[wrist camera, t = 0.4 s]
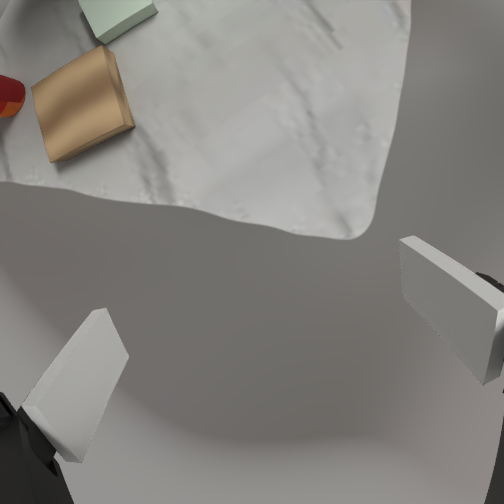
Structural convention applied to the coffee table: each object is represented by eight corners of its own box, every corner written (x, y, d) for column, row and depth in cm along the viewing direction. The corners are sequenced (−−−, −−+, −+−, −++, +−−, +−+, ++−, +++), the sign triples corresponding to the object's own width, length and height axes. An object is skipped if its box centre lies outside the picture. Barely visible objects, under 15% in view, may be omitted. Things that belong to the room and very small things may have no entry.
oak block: (46, 90, 33) (31, 87, 30) (113, 53, 33) (101, 44, 29) (65, 160, 37) (50, 162, 33) (135, 126, 36) (124, 124, 32)
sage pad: (86, 7, 30) (77, 0, 27) (136, -24, 29) (129, -34, 26) (105, 44, 32) (96, 38, 29) (158, 11, 31) (152, 2, 28)
